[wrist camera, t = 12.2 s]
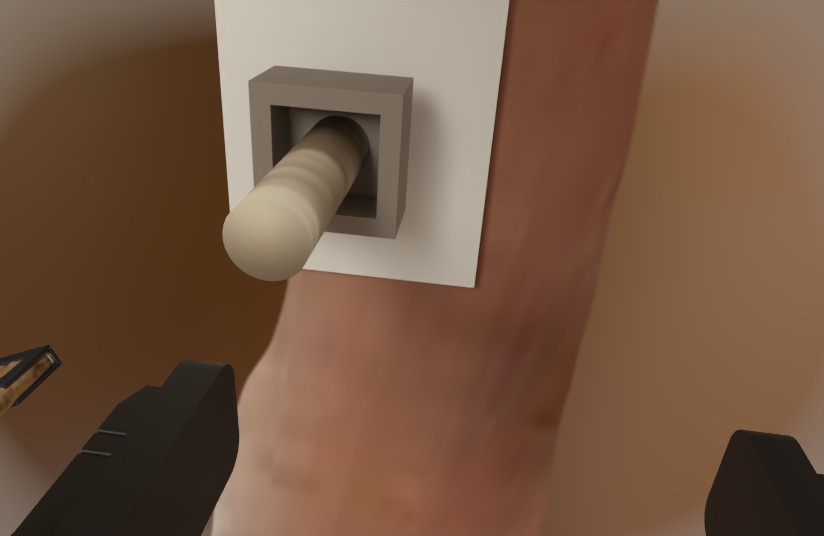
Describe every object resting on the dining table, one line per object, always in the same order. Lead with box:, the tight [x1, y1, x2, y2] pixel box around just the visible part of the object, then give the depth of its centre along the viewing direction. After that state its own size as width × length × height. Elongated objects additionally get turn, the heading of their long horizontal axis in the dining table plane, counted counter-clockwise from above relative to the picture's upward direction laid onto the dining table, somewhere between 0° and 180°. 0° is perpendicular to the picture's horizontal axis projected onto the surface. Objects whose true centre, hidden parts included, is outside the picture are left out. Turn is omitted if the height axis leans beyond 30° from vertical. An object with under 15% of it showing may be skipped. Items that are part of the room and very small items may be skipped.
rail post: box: [223, 115, 369, 281], centre depth 28 cm, size 3×3×12 cm
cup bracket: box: [215, 0, 509, 288], centre depth 35 cm, size 20×16×9 cm
